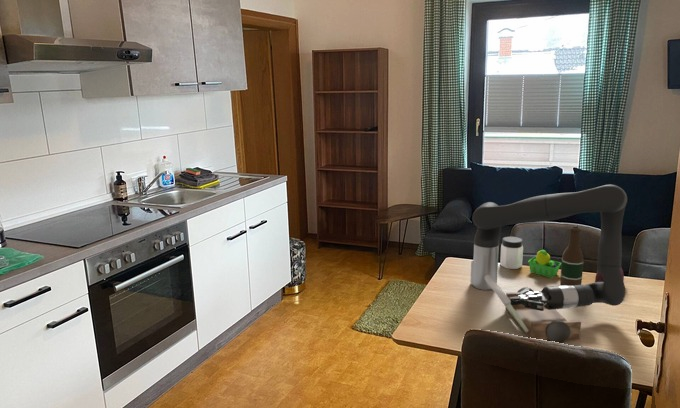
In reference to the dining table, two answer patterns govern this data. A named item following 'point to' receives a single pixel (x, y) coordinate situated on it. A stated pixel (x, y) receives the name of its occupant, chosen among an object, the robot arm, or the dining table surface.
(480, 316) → the dining table surface
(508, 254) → the jar
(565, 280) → the beer bottle
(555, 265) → the fruit basket
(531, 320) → the cart bed
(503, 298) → the tailgate
